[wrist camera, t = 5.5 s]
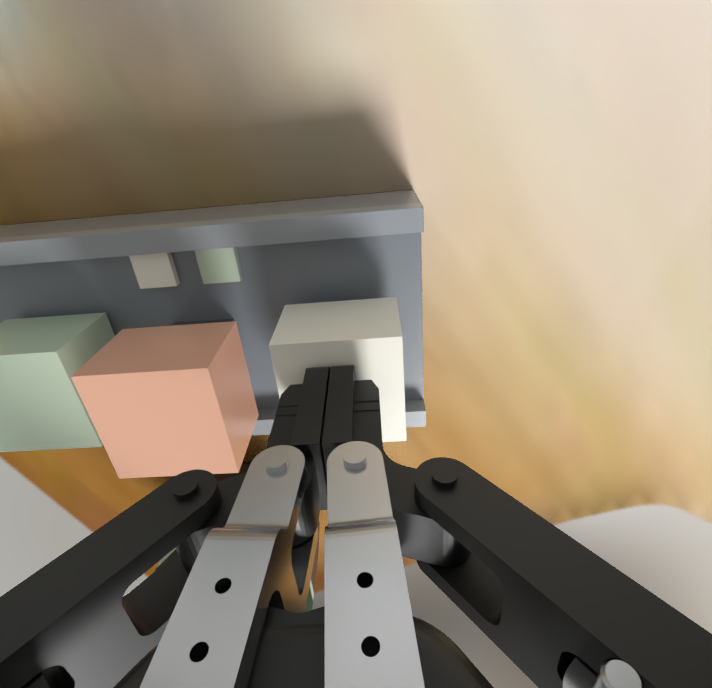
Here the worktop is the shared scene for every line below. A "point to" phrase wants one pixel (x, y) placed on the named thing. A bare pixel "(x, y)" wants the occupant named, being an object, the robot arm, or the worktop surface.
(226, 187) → the worktop surface
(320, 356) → the key ivory
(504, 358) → the worktop surface
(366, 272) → the grey tray
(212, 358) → the key terracotta
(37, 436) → the key sage
